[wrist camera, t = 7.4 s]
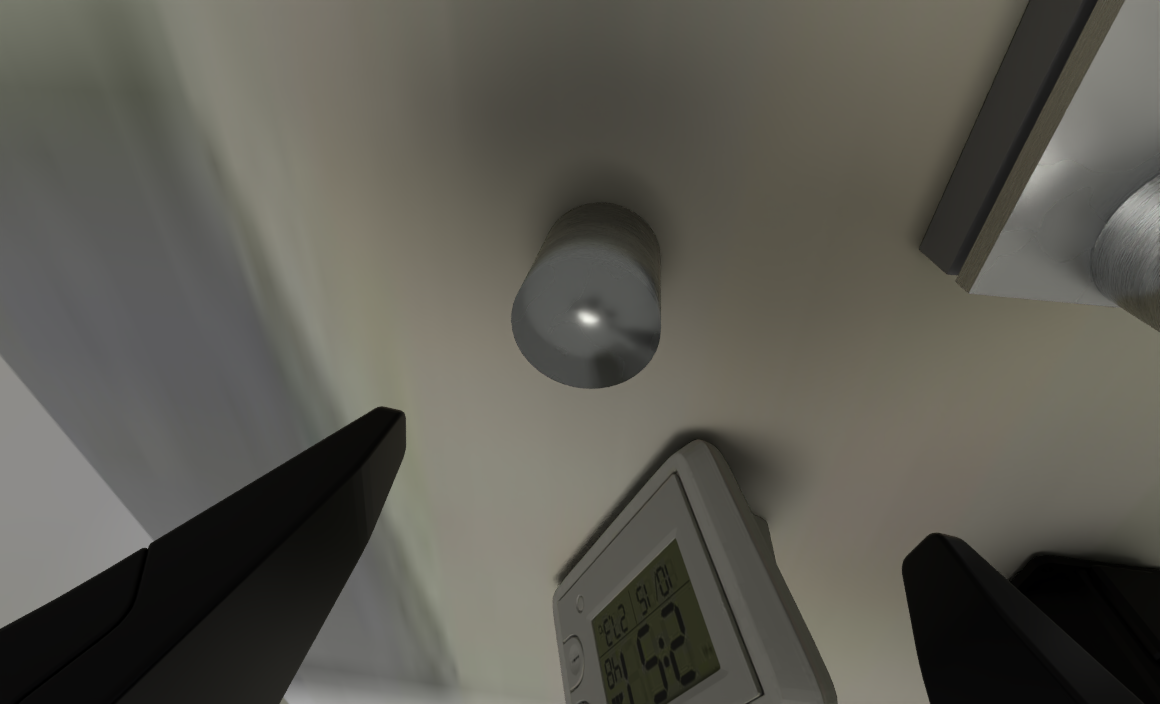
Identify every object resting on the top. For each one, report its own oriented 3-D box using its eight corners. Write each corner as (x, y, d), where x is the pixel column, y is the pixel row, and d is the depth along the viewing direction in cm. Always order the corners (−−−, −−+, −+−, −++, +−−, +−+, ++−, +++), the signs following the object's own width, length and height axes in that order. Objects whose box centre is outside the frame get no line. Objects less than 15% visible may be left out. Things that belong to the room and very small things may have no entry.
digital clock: (704, 411, 22) (732, 670, 13) (840, 509, 24) (942, 786, 15) (513, 561, 30) (453, 780, 22) (627, 623, 33) (615, 846, 24)
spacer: (652, 317, 20) (651, 395, 16) (543, 306, 20) (514, 380, 16) (668, 207, 17) (670, 266, 13) (543, 197, 18) (508, 251, 14)
